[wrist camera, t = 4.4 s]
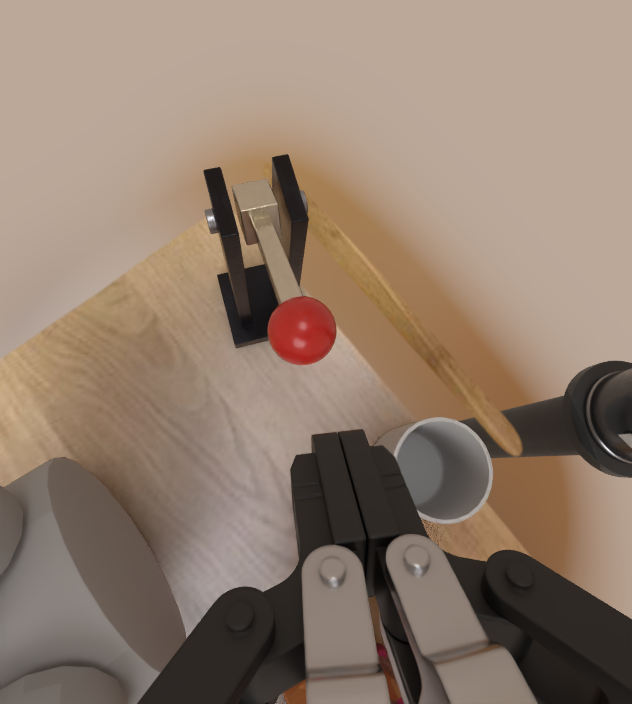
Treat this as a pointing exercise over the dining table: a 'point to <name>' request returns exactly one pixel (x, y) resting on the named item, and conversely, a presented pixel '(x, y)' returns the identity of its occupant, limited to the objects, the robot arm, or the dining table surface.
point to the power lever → (283, 281)
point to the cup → (442, 467)
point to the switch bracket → (254, 283)
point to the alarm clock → (78, 594)
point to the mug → (298, 692)
